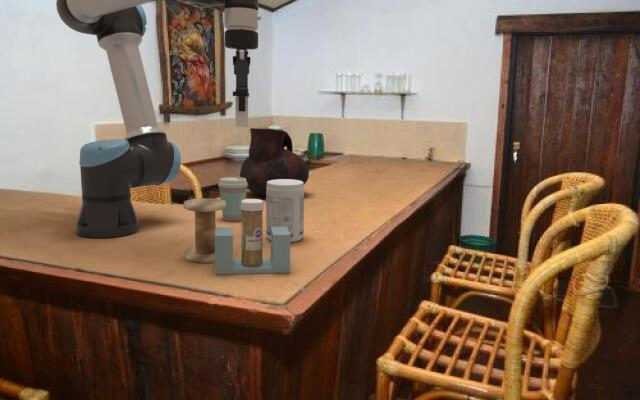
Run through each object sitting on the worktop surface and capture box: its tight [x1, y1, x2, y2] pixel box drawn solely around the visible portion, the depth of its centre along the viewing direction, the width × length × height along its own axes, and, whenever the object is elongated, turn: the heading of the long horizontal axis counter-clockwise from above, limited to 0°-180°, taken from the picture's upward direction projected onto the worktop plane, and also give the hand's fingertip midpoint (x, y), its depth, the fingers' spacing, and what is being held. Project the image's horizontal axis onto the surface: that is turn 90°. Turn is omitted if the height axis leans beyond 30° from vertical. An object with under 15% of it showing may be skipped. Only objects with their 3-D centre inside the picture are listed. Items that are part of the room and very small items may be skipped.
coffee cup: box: [217, 176, 248, 222], centre depth 155 cm, size 8×8×12 cm
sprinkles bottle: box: [240, 198, 264, 266], centre depth 110 cm, size 5×5×14 cm
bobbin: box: [183, 197, 226, 264], centre depth 117 cm, size 9×9×12 cm
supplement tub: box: [265, 179, 305, 243], centre depth 135 cm, size 10×10×15 cm
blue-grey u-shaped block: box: [214, 226, 291, 275], centre depth 111 cm, size 15×7×8 cm, turn 99°
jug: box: [239, 127, 310, 198], centre depth 195 cm, size 25×25×25 cm
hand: (241, 125), depth 124 cm, fingers open, 13 cm apart
